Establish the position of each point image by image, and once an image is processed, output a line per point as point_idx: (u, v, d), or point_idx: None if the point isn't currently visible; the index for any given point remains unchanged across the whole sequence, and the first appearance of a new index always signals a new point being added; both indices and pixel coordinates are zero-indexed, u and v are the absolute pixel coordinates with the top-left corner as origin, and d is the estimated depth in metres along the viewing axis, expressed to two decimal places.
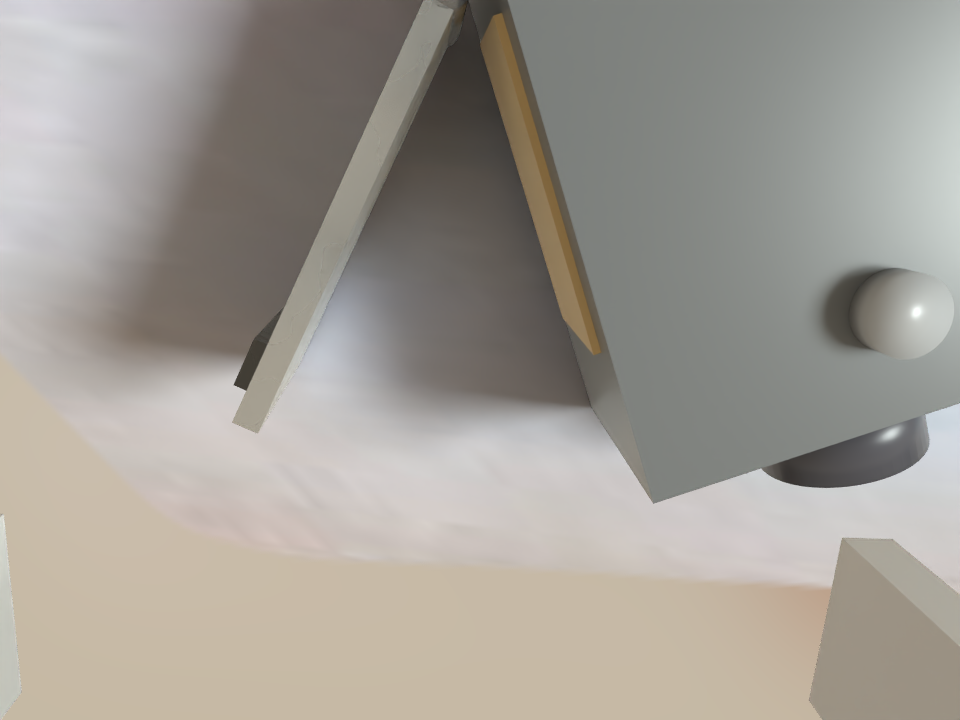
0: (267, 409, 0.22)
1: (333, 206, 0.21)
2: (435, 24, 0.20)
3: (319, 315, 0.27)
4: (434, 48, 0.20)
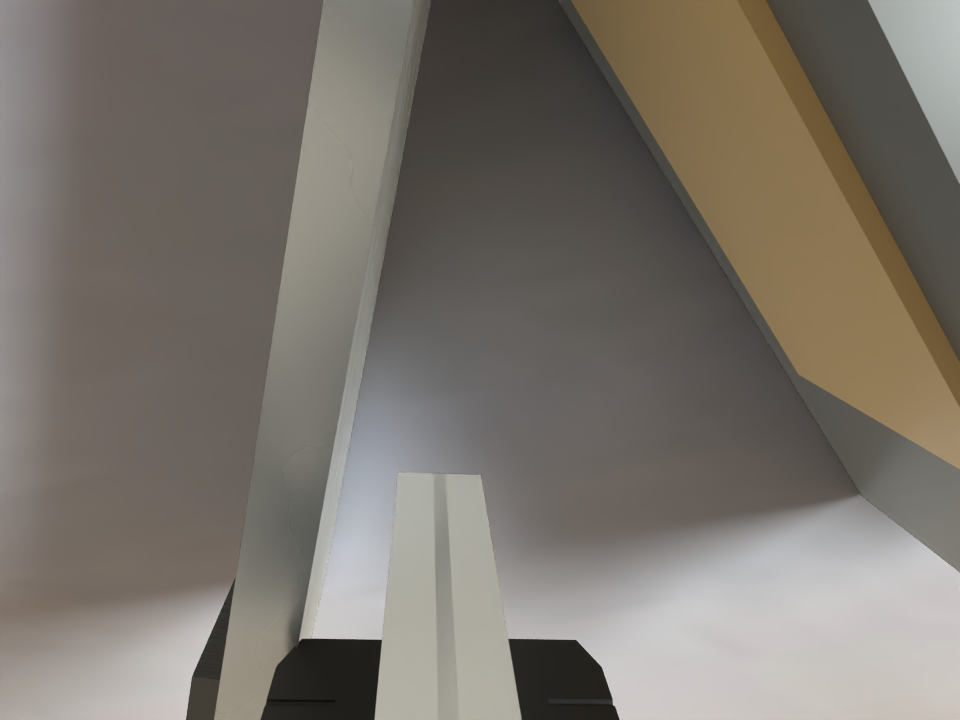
0: None
1: (277, 358, 0.08)
2: None
3: (332, 518, 0.14)
4: None
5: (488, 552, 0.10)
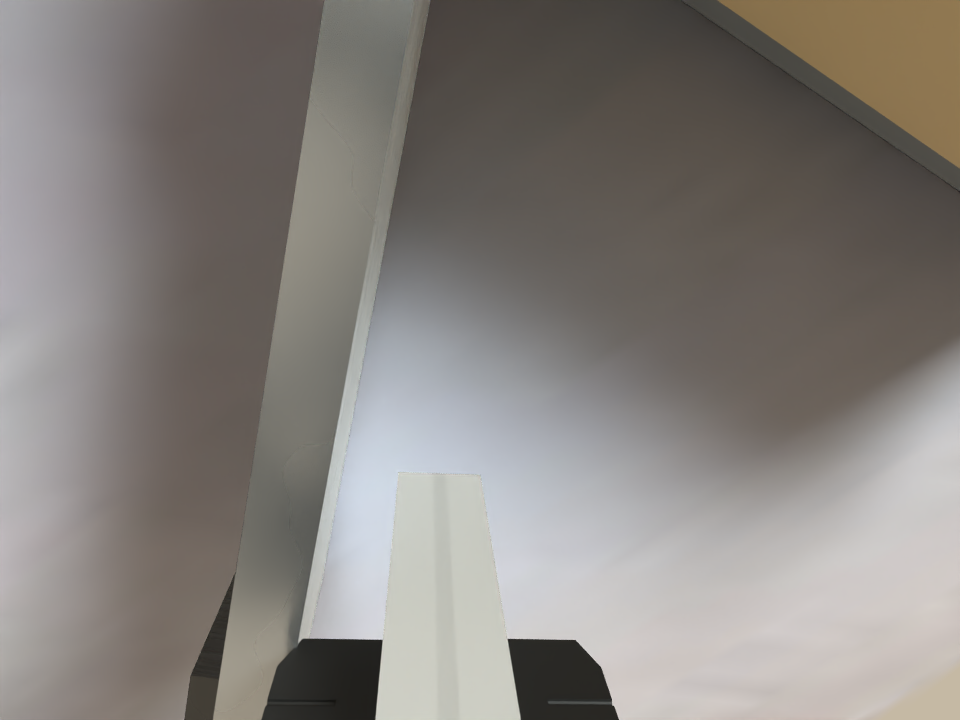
0: None
1: (278, 356, 0.08)
2: None
3: (331, 517, 0.14)
4: None
5: (487, 552, 0.10)
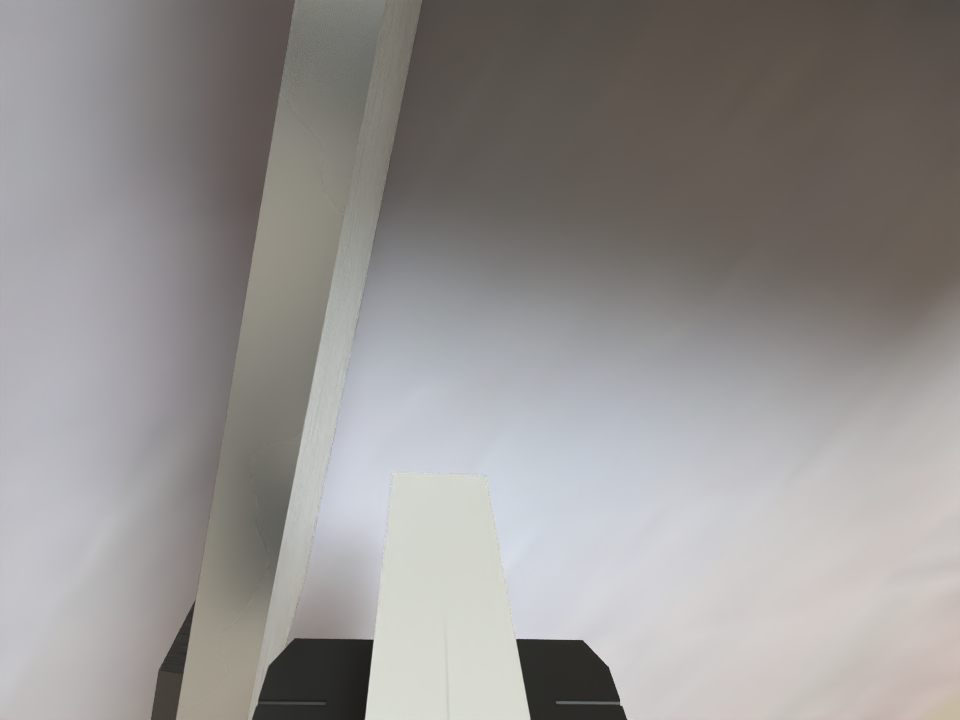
0: None
1: (245, 351, 0.08)
2: None
3: (311, 515, 0.14)
4: None
5: (494, 552, 0.10)
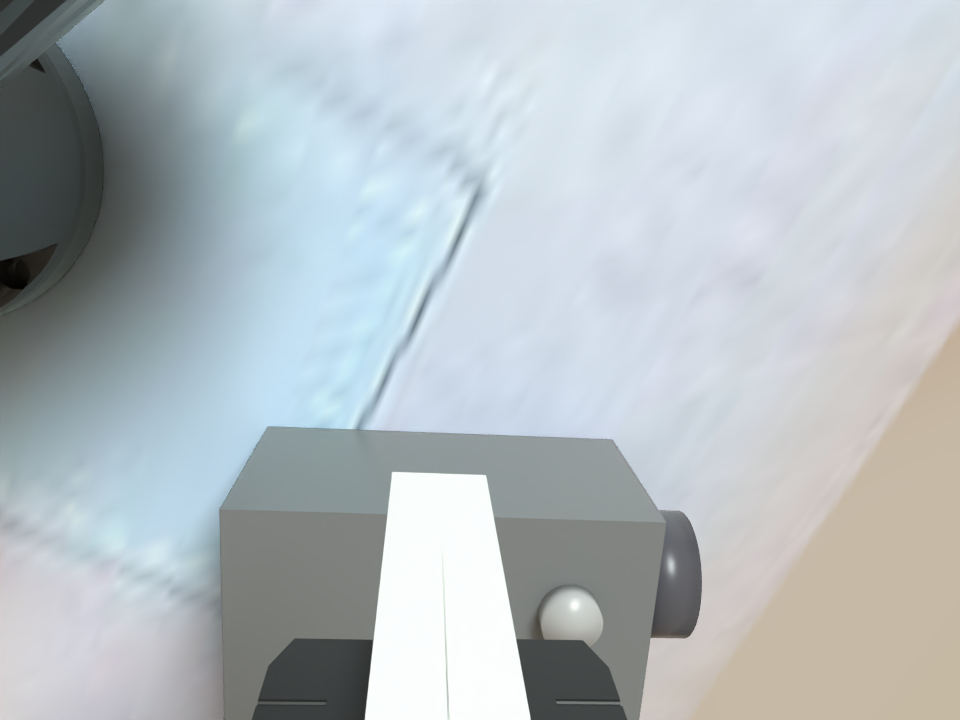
0: None
1: None
2: None
3: None
4: None
5: (494, 552, 0.10)
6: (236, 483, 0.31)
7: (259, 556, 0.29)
